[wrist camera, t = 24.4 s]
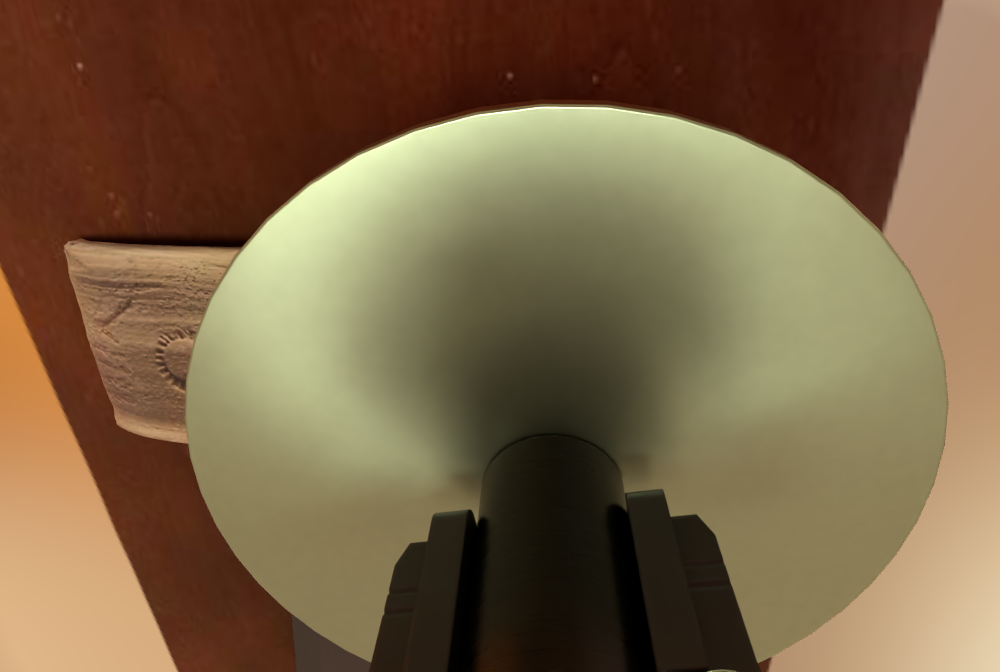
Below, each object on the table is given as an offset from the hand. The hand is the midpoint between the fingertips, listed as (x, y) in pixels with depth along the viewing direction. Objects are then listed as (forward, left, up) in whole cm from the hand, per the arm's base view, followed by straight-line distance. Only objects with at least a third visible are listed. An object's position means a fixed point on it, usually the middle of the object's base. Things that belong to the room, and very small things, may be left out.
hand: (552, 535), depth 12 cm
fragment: (+15, +2, -19) cm, 25 cm away
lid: (0, 0, -2) cm, 2 cm away
